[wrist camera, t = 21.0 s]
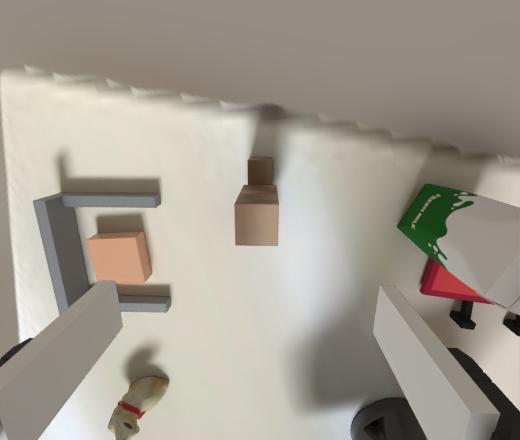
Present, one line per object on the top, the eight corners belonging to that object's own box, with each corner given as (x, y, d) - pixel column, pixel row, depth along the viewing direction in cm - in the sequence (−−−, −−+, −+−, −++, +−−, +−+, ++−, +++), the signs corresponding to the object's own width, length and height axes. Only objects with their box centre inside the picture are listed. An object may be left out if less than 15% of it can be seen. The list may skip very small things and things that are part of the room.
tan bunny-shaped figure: (124, 373, 50) (90, 430, 40) (169, 376, 50) (145, 434, 40) (126, 397, 52) (94, 457, 42) (169, 401, 51) (147, 462, 42)
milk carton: (439, 255, 42) (585, 359, 22) (386, 229, 41) (490, 315, 22) (478, 202, 39) (679, 269, 20) (423, 173, 38) (576, 214, 19)
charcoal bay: (159, 193, 40) (144, 202, 35) (171, 304, 45) (159, 325, 41) (60, 192, 41) (32, 200, 36) (83, 303, 46) (61, 322, 41)
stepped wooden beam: (276, 157, 38) (279, 171, 25) (274, 228, 41) (277, 274, 28) (246, 157, 38) (233, 170, 25) (247, 228, 41) (236, 273, 28)
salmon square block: (144, 230, 42) (135, 237, 39) (152, 272, 44) (144, 282, 41) (98, 232, 43) (86, 240, 40) (109, 274, 45) (98, 284, 42)
